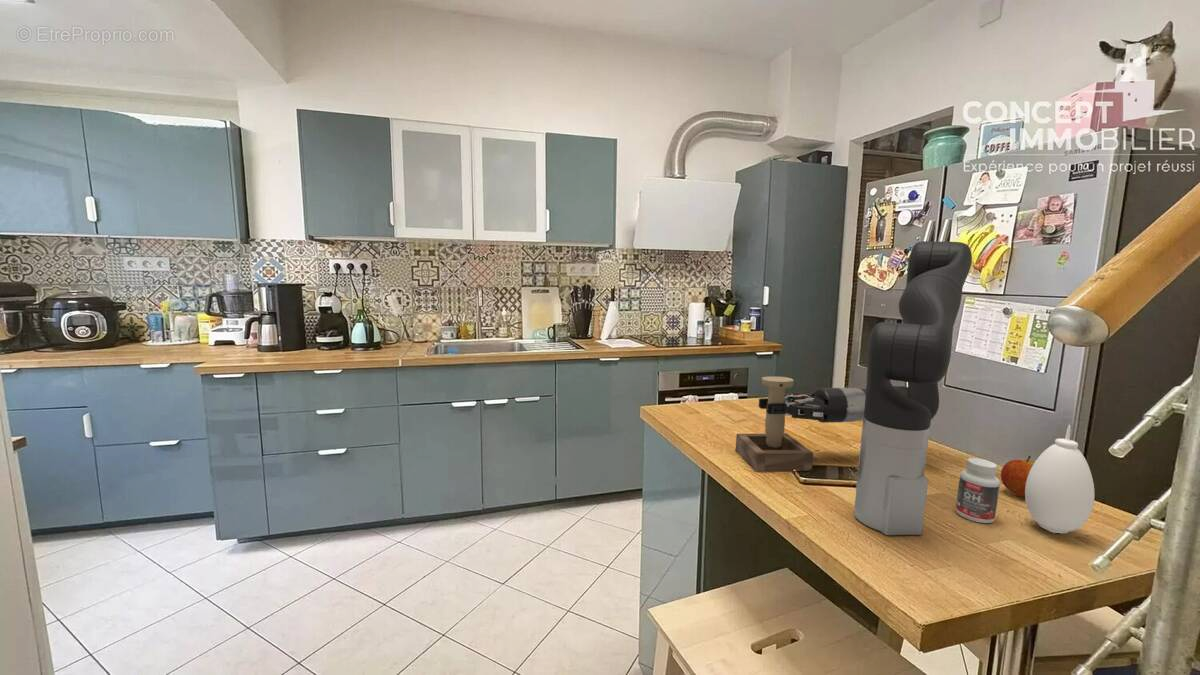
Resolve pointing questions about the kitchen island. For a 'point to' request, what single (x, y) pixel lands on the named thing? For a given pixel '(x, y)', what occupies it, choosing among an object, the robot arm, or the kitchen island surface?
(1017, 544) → the kitchen island surface
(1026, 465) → the fruit
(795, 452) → the socket
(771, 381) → the handle
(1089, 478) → the white air blower bulb
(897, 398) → the robot arm
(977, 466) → the pill bottle
